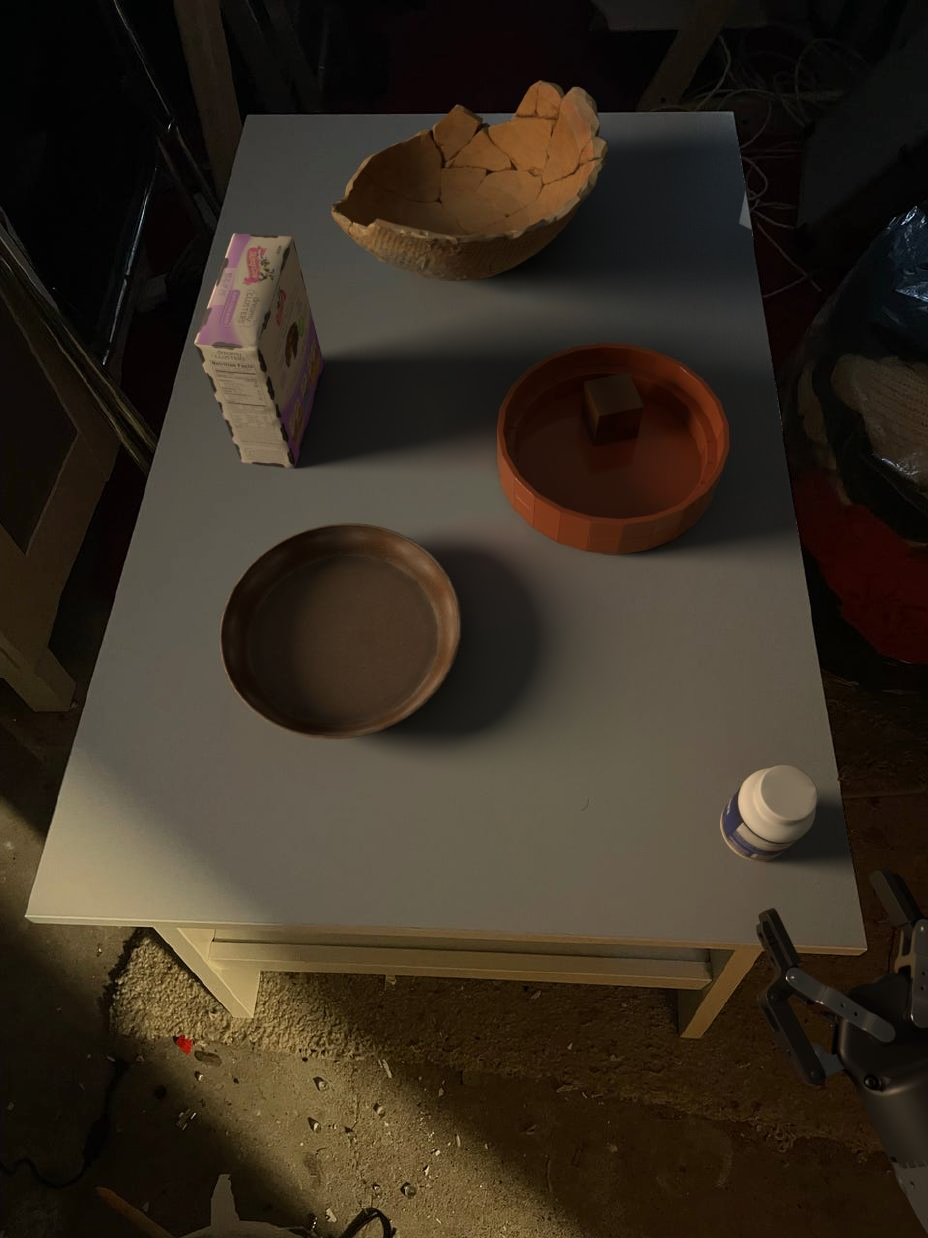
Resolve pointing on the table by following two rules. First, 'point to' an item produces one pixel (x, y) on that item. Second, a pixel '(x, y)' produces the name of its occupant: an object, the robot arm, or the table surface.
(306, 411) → the candy box
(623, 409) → the block
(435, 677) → the plant saucer
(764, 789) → the pill bottle
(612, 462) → the bowl
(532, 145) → the ceramic bowl
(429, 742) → the table surface
